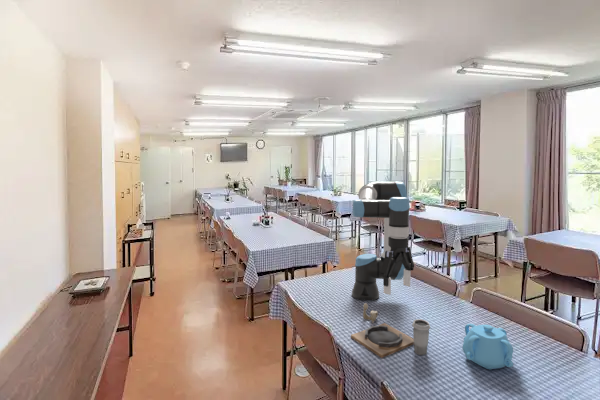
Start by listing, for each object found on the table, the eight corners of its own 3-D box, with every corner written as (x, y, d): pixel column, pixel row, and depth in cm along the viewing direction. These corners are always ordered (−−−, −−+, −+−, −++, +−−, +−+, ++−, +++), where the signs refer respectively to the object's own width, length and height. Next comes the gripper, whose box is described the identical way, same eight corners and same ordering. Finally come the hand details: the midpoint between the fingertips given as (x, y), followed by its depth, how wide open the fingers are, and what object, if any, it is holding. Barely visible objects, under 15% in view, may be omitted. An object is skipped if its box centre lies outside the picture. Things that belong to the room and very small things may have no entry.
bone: (385, 318, 154) (376, 303, 152) (376, 328, 152) (367, 312, 149) (374, 312, 162) (365, 297, 159) (365, 322, 160) (356, 306, 157)
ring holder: (384, 325, 151) (384, 319, 151) (416, 343, 136) (416, 336, 136) (350, 337, 141) (350, 331, 140) (381, 358, 125) (381, 351, 125)
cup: (427, 358, 125) (428, 328, 123) (409, 353, 128) (410, 324, 127) (431, 349, 131) (432, 321, 129) (413, 345, 134) (414, 317, 133)
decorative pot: (513, 379, 112) (516, 342, 111) (461, 366, 120) (463, 330, 119) (510, 355, 127) (512, 322, 125) (463, 345, 134) (465, 313, 133)
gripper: (407, 231, 139) (406, 280, 141) (370, 239, 123) (369, 294, 125) (424, 234, 134) (422, 284, 135) (387, 243, 118) (386, 300, 119)
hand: (397, 289), depth 130 cm, fingers open, 13 cm apart
